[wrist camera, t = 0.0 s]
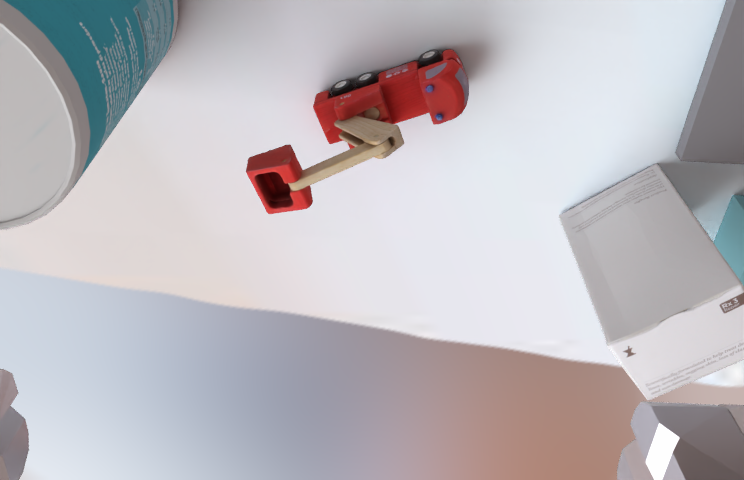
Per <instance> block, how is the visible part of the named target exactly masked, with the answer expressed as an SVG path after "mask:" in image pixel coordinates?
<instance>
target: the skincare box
mask: <svg viewBox="0 0 744 480" xmlns="http://www.w3.org/2000/svg"><path fill="white" fill-rule="evenodd" d="M559 219H560V222H561V225H562V227H563V230H564V232H565V235H566V237H567V240H568V242H569V245H570V248H571V250H572V253H573V255H574V258H575V260H576V263H577V266H578V268H579V271H580V274H581V276H582V279H583V281H584V284H585V287H586V289H587V292H588V294H589V297H590V299H591V302H592V305H593V307H594V310H595V312H596V315H597V318H598V320H599V323H600V326H601V328H602V331H603V333H604V336H605V340H606V344H607V346H608V348H609V349H610V350H611V352H612V353H613V354H614V356H615V357H616V359H617V360H618V362H619V363H620V364H621V366H622V367H623V368H624V370H625V371H626V372H627V374H628V375H629V376H630V378H631V379H632V380H633V382H634V383H635V384H636V386H637V387H638V388H639V390H640V391H641V392H642V393H643V395H644V396H645V397H646V398H647V400H651V399H653V398H656V397H657V396H660V395H662V394H665V393H667V392H669V391H672V390H674V389H676V388H678V387H681V386H683V385H685V384H688V383H690V382H692V381H695V380H697V379H699V378H702V377H704V376H706V375H709V374H711V373H713V372H716V371H718V370H720V369H723V368H725V367H728V366H730V365H732V364H735V363H737V362H739V361H742V360H744V286H743V284H742V282H741V281H740V279H739V278H738V277H737V275H736V274H735V272H734V271H733V270H732V268H731V267H730V265H729V264H728V263H727V261H726V260H725V258H724V257H723V256H722V254H721V253H720V251H719V250H718V249H717V247H716V246H715V244H714V243H713V241H712V240H711V239H710V237H709V236H708V234H707V233H706V231H705V230H704V229H703V227H702V226H701V224H700V223H699V222H698V220H697V219H696V217H695V216H694V214H693V213H692V212H691V210H690V209H689V207H688V206H687V205H686V203H685V202H684V200H683V199H682V198H681V196H680V195H679V193H678V192H677V190H676V189H675V188H674V186H673V185H672V183H671V182H670V180H669V179H668V178H667V176H666V175H665V173H664V172H663V171H662V169H661V168H660V166H659V165H658V164H654V165H652V166H650V167H648V168H647V169H645V170H643V171H641V172H639V173H637V174H635V175H634V176H632V177H630V178H628V179H626V180H624V181H622V182H621V183H619V184H617V185H615V186H613V187H611V188H609V189H607V190H605V191H604V192H602V193H600V194H598V195H596V196H594V197H592V198H590V199H588V200H587V201H585V202H583V203H581V204H580V205H578V206H576V207H574V208H572V209H570V210H568V211H566V212H564V213H562V214H560V215H559Z"/></svg>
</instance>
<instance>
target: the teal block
mask: <svg viewBox="0 0 744 480" xmlns="http://www.w3.org/2000/svg"><path fill="white" fill-rule="evenodd" d="M714 244H715V246H716V247H717V249H718V250H719V251H720V253H721V254H722V256H723V257H724V258H725V260H726V261H727V263H728V264H729V265H730V267H731V268H732V270H733V271H734V272H735V274H736V275H737V277H738V278H739V279H740V281H741V282H742V284H743V286H744V196H743V195H733V196H732V198H731V201H730V203H729V206H728V208H727V211H726V213H725V216H724V218H723V221H722V223H721V226H720V228H719V231H718V233H717V235H716V238H715V240H714Z"/></svg>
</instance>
